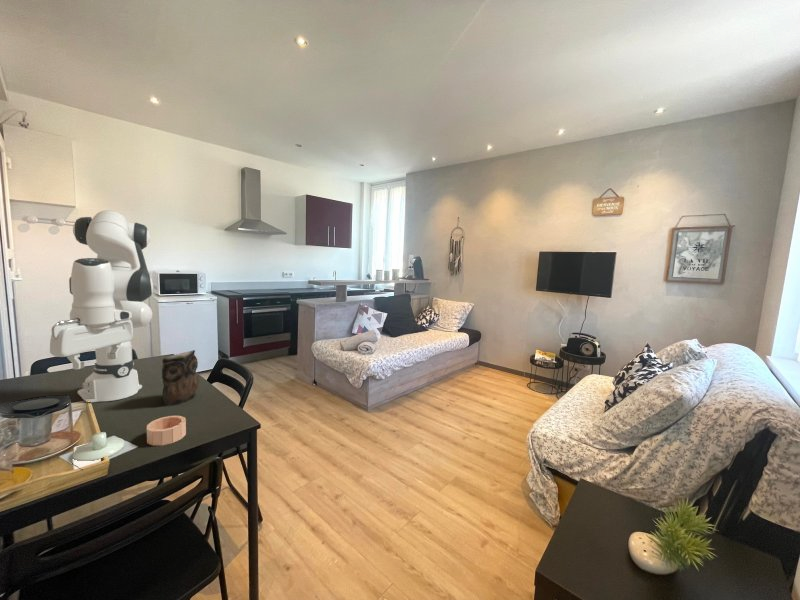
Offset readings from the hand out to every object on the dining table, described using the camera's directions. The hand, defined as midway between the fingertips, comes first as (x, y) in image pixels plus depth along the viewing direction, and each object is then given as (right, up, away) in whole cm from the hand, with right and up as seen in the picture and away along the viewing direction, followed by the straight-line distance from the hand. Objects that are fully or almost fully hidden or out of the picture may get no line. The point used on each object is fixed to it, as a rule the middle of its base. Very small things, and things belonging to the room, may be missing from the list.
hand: (96, 363), depth 92 cm
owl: (-5, -23, +41) cm, 47 cm away
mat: (-2, -27, +3) cm, 27 cm away
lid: (-2, -27, +3) cm, 27 cm away
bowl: (+11, -27, +13) cm, 32 cm away
